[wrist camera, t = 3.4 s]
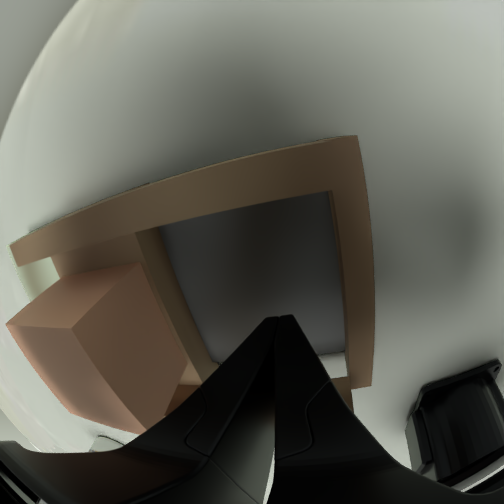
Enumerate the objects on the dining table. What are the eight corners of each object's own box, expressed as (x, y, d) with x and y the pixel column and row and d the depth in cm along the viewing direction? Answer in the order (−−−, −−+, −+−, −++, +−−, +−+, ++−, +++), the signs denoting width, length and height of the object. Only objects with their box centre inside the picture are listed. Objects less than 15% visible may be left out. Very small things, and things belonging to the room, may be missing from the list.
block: (140, 261, 9) (71, 328, 6) (187, 364, 11) (153, 437, 7) (62, 277, 10) (5, 324, 7) (107, 359, 12) (70, 412, 9)
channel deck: (344, 135, 8) (378, 134, 5) (364, 355, 12) (377, 421, 8) (28, 233, 12) (-18, 260, 9) (94, 362, 16) (66, 400, 12)
